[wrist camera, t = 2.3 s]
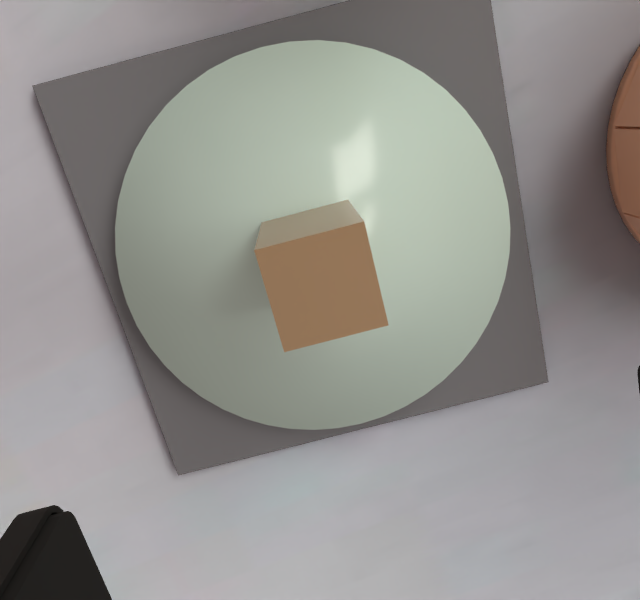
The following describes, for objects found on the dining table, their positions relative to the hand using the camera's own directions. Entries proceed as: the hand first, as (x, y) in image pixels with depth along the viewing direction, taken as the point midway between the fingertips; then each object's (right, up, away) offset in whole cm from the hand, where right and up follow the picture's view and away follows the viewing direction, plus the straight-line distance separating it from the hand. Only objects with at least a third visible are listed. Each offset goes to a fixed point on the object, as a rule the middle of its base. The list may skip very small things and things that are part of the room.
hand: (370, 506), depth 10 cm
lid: (-1, +6, +19) cm, 20 cm away
